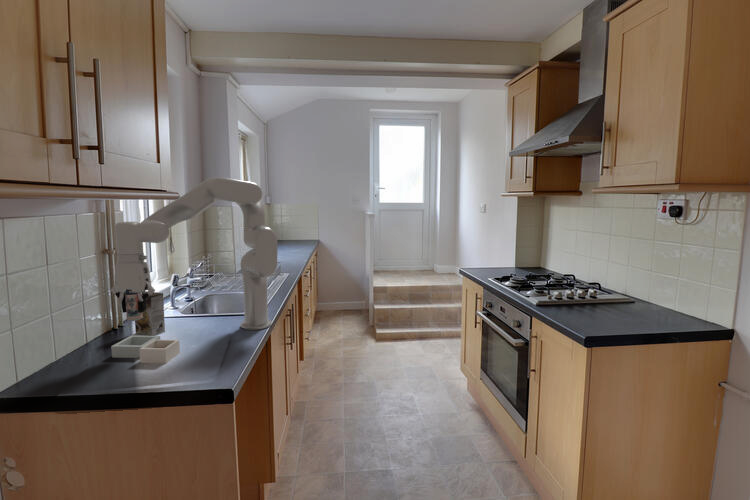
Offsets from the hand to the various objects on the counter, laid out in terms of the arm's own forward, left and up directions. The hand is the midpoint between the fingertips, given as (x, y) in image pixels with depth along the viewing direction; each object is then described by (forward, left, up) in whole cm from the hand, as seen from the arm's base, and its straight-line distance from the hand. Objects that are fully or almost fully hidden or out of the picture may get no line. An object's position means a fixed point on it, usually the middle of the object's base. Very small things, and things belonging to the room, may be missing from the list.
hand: (134, 311), depth 132 cm
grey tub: (0, 0, -15) cm, 15 cm away
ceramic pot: (+5, +11, -15) cm, 19 cm away
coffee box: (-21, -8, -15) cm, 27 cm away
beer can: (0, 0, -3) cm, 3 cm away
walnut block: (+5, +11, -14) cm, 19 cm away
